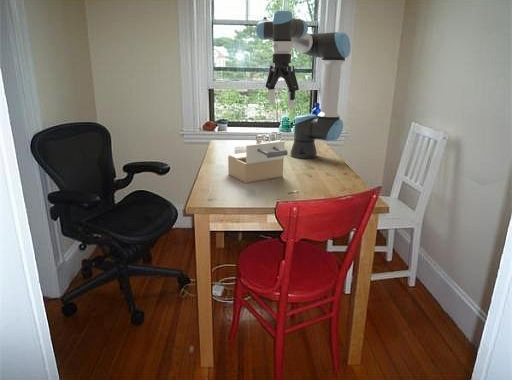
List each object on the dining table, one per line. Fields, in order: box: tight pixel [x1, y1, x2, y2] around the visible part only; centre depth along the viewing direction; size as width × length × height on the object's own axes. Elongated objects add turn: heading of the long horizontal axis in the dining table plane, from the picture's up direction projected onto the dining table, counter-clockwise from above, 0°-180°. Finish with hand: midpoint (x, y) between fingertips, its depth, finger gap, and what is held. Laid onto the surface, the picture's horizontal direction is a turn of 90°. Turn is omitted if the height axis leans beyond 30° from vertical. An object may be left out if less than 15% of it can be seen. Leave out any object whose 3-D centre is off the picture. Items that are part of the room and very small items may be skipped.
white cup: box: [234, 145, 247, 154], centre depth 181 cm, size 8×8×10 cm
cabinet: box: [227, 153, 284, 185], centre depth 167 cm, size 20×16×10 cm
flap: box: [246, 140, 288, 164], centre depth 154 cm, size 19×8×10 cm
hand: (281, 106), depth 154 cm, fingers open, 13 cm apart
